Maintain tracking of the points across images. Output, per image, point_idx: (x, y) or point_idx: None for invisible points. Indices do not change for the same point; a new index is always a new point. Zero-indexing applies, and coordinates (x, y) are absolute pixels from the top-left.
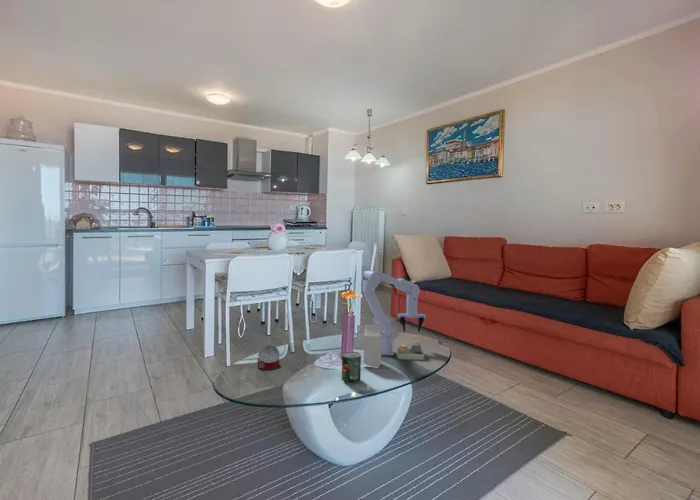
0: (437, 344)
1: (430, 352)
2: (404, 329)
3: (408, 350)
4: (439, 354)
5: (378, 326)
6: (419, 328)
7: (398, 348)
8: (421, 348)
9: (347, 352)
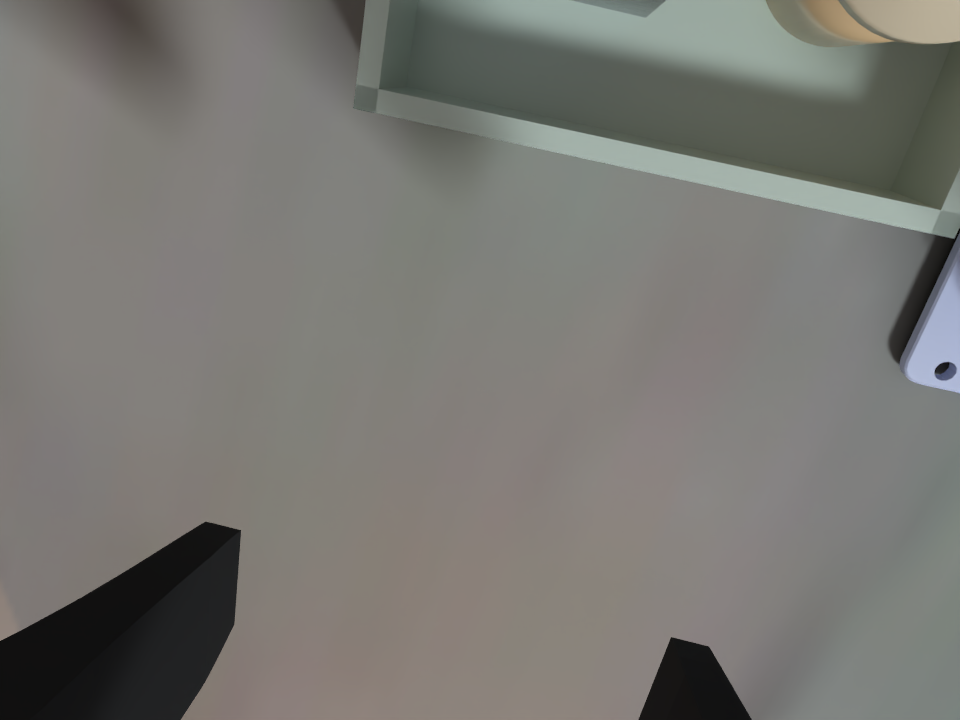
0: (13, 563)
1: (193, 191)
2: (714, 694)
3: (661, 144)
4: (49, 49)
5: None
6: (139, 583)
7: (904, 203)
8: (358, 101)
9: None
